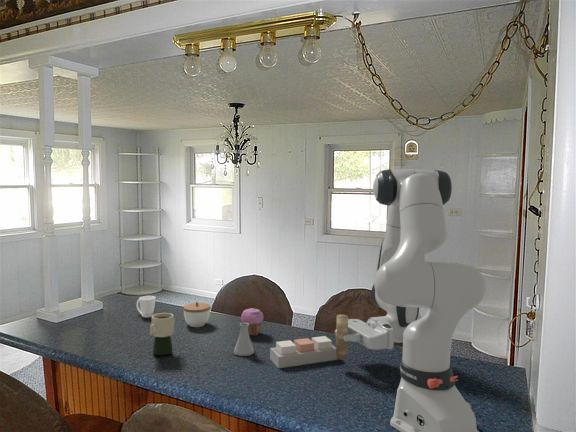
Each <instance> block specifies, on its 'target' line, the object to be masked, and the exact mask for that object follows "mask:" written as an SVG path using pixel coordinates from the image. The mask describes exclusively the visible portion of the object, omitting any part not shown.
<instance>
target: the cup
mask: <svg viewBox="0 0 576 432" xmlns="http://www.w3.org/2000/svg"><path fill="white" fill-rule="evenodd" d="M156 299H157V297H156V296H154V295H144V296H140V297H138V299H137V300H136V305H135V307H136V310H137V311H138V313H140V315H141V317H142V318H152V316H153V315H154V312H155V304H156Z"/></svg>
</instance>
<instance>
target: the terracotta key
mask: <svg viewBox="0 0 576 432" xmlns="http://www.w3.org/2000/svg"><path fill="white" fill-rule="evenodd" d="M293 343H294V344H295V345H296V350H297V351H298V352H299V353H301V352H308V351H314V343H313V342H312V339H310V338H308V337H306V338H297V339H294V340H293Z"/></svg>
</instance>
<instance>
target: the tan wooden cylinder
mask: <svg viewBox="0 0 576 432" xmlns="http://www.w3.org/2000/svg"><path fill="white" fill-rule="evenodd" d="M348 319H349V315H347V314H337V315H336V329H335V330H336V335H335V347H336V358H337V360H343V361H345V360H347V359H348V353H349V351H348V349H349V346H348V345H349V341H344V340H343V339H342V338H343V337H342V335H343V334H348Z"/></svg>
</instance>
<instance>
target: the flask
mask: <svg viewBox="0 0 576 432" xmlns="http://www.w3.org/2000/svg"><path fill="white" fill-rule="evenodd" d="M248 326H249V323H243V322H240V323H239V327H240V330H239V334H238V338H237V342H236V345H235V346H234V349H233V355H235V356H239V357H246V356H247V357H249V356H252V355H253V354H255V349H254V346H253V343H252V340H251V337H250V335H249V333H248Z"/></svg>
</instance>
